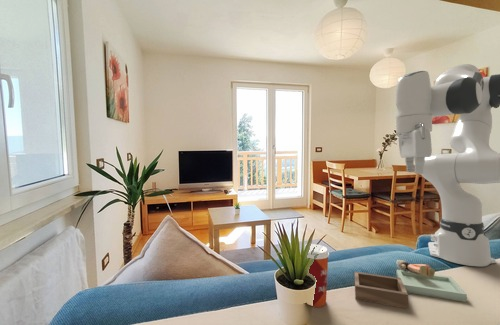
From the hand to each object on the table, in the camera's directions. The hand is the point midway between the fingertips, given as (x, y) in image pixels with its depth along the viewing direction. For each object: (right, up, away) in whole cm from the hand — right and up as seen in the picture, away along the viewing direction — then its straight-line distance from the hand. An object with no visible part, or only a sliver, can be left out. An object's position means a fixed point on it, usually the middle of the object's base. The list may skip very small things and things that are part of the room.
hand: (414, 172), depth 72 cm
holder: (-14, -33, -6) cm, 36 cm away
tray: (+2, -33, -3) cm, 33 cm away
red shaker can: (-32, -34, -8) cm, 47 cm away
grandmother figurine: (+3, -29, -3) cm, 29 cm away
